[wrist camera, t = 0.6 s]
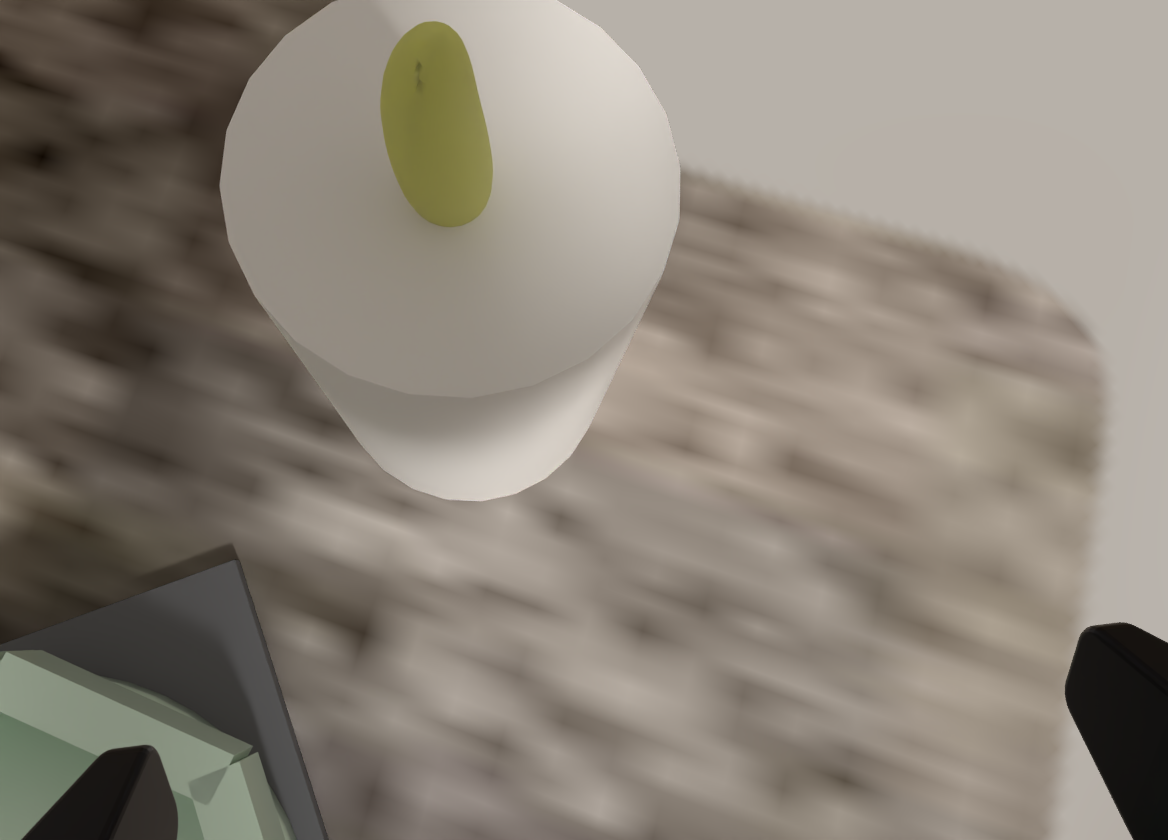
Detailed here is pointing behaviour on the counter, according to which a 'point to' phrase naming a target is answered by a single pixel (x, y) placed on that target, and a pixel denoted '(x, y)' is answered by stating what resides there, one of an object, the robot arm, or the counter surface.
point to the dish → (115, 720)
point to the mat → (197, 669)
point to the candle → (454, 226)
